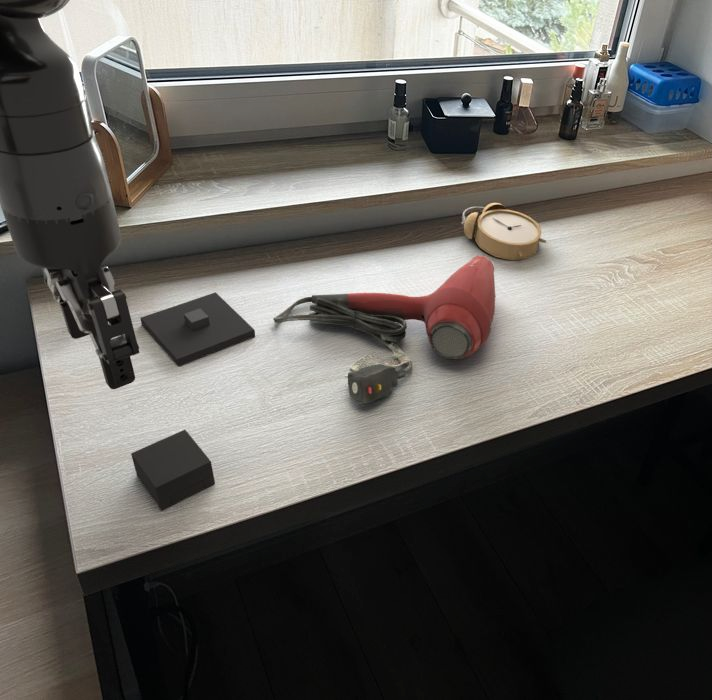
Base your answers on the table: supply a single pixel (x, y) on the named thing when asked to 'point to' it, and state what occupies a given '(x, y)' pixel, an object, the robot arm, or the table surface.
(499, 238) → the alarm clock
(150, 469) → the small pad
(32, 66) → the robot arm
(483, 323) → the hair dryer
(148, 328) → the base pad
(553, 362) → the table surface
